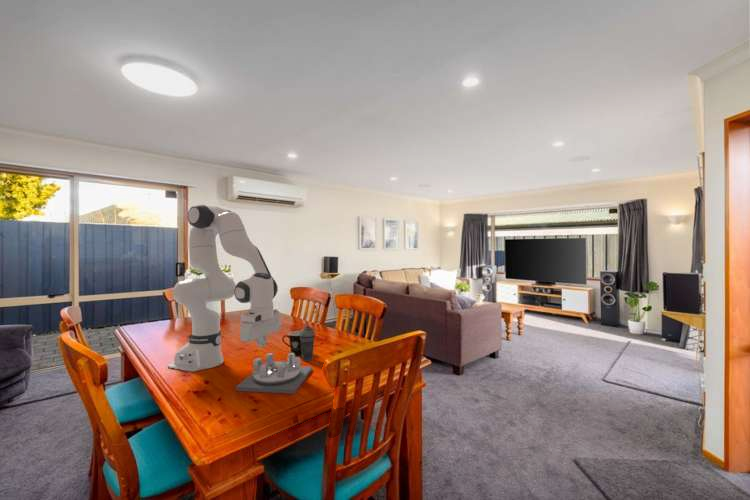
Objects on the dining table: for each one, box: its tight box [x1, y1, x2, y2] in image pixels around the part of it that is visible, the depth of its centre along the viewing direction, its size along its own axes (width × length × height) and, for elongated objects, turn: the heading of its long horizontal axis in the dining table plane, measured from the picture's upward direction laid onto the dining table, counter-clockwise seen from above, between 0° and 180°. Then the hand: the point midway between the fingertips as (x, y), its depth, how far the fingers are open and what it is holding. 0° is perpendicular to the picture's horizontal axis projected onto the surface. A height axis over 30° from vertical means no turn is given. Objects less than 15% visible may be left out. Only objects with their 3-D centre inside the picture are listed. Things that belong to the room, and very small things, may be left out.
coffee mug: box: [281, 330, 302, 356], centre depth 160 cm, size 12×9×10 cm
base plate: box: [235, 365, 313, 395], centre depth 128 cm, size 22×22×2 cm
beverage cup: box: [300, 317, 316, 362], centre depth 150 cm, size 7×7×20 cm
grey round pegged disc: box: [252, 352, 302, 385], centre depth 127 cm, size 19×18×6 cm
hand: (261, 346), depth 130 cm, fingers closed
